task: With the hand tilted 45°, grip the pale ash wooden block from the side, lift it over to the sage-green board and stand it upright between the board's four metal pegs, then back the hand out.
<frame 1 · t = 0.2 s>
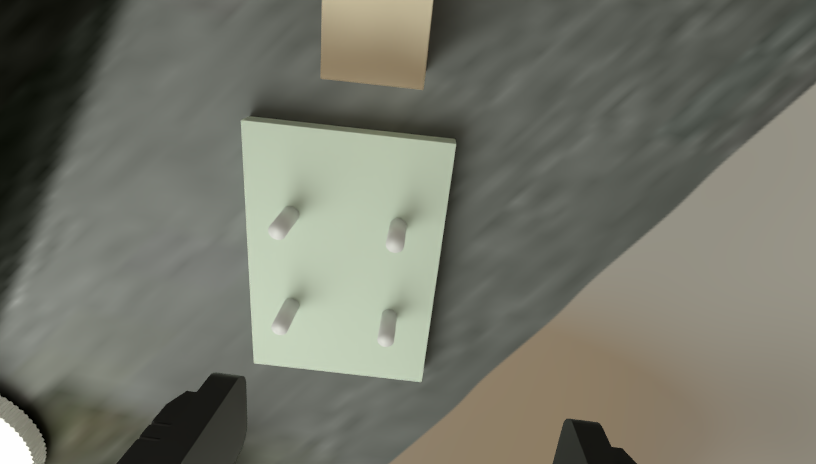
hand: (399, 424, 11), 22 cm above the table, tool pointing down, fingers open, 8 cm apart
peg board: (345, 257, 34), on the table
ash block: (393, 28, 28), on the table
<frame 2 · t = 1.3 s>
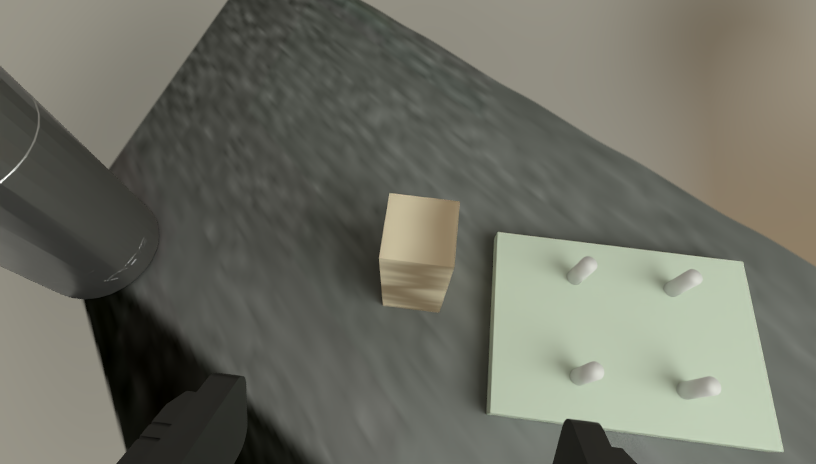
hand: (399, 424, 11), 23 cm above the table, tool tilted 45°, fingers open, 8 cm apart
peg board: (617, 335, 35), on the table
ash block: (414, 282, 37), on the table
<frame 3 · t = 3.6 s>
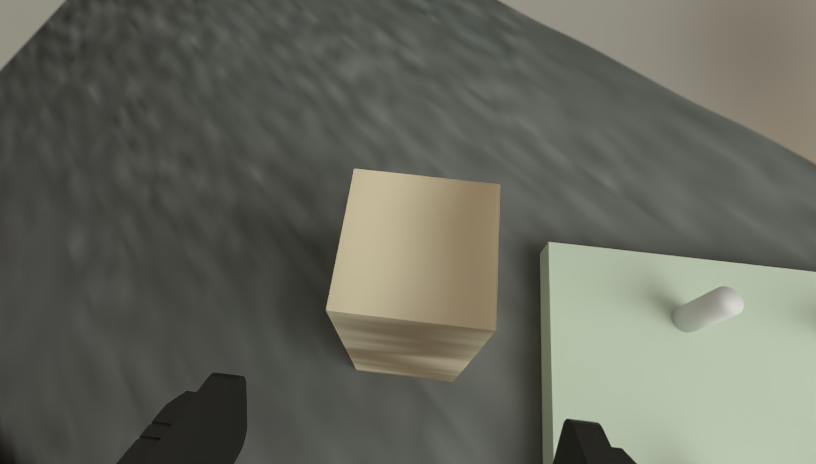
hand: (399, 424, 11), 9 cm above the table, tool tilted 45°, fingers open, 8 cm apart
peg board: (764, 420, 20), on the table
ash block: (410, 327, 22), on the table
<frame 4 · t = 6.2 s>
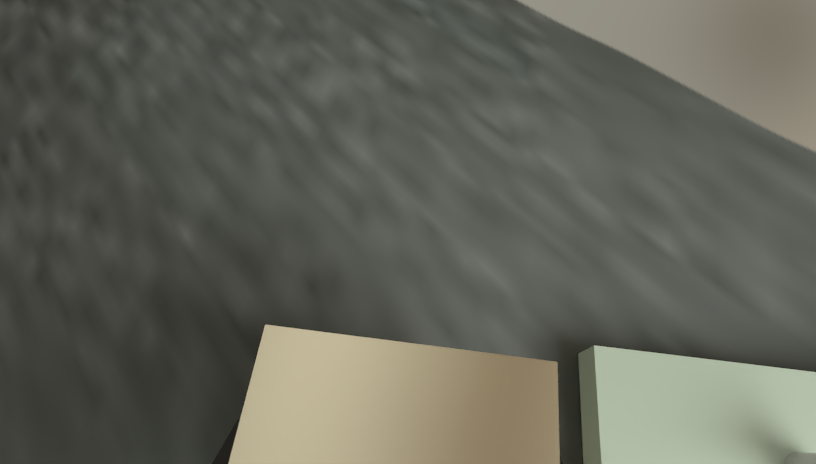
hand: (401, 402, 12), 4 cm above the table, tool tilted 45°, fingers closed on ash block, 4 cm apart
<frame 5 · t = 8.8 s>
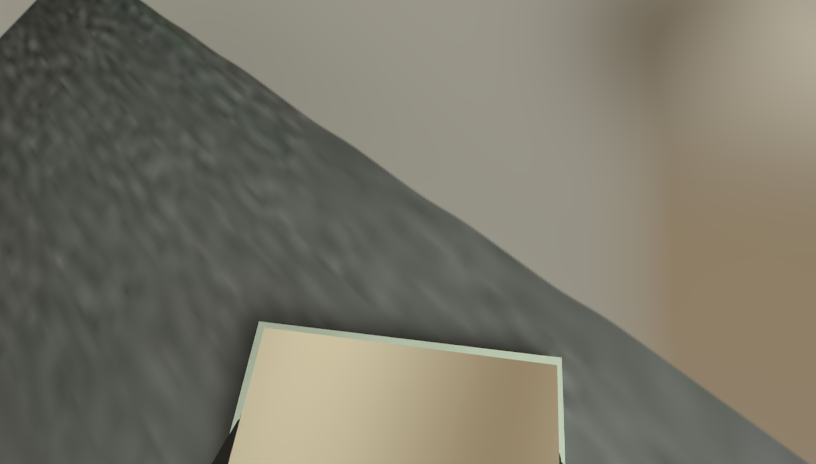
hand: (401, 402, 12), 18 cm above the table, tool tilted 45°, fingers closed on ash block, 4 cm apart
peg board: (395, 457, 28), on the table
when the fingers open (7 cm above the table, at t = 11.6 s): ash block drops 2 cm, resting on peg board.
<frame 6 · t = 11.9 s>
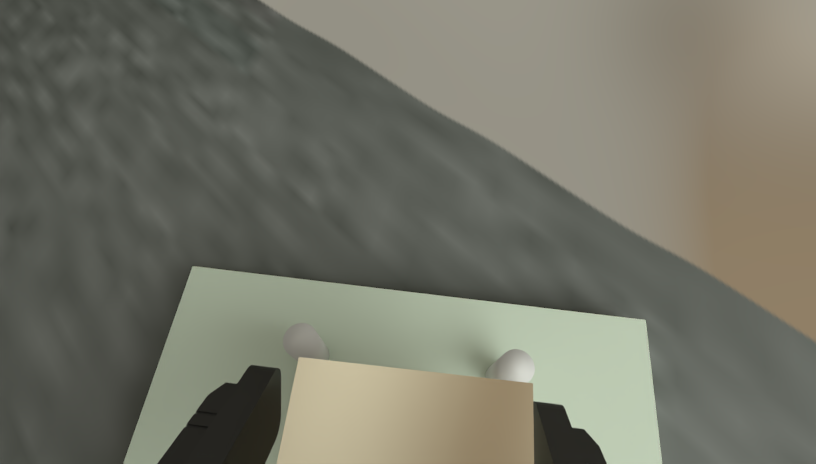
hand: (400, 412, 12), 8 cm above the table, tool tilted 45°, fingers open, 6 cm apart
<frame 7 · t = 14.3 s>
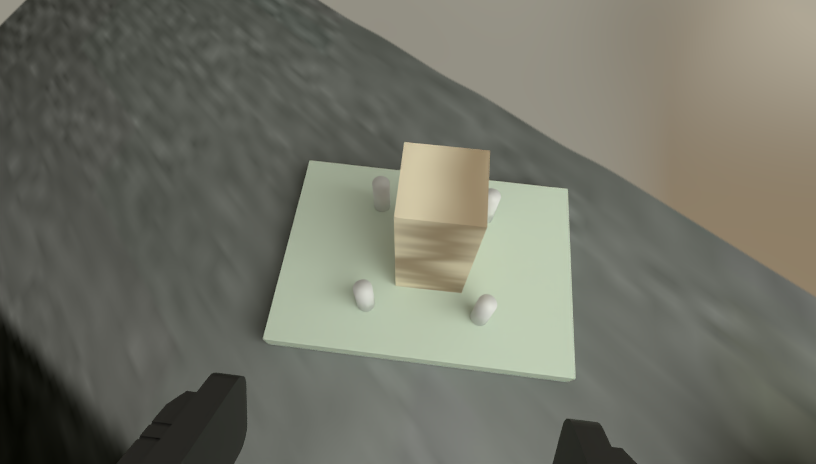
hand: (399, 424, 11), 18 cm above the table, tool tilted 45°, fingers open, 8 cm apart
peg board: (426, 265, 33), on the table
ash block: (431, 259, 31), point 1 cm above the table, touching peg board
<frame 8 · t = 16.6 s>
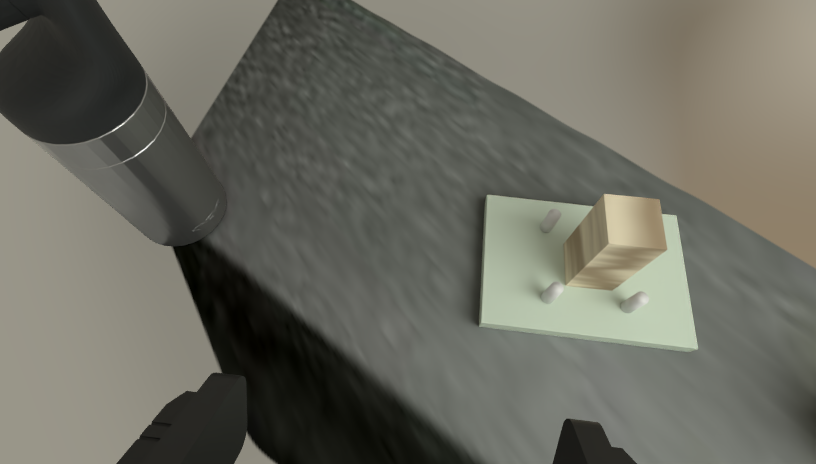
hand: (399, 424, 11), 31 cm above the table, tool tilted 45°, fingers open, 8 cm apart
peg board: (579, 271, 46), on the table
ash block: (587, 266, 45), point 1 cm above the table, touching peg board
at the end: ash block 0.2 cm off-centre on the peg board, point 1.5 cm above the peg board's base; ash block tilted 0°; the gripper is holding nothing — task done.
